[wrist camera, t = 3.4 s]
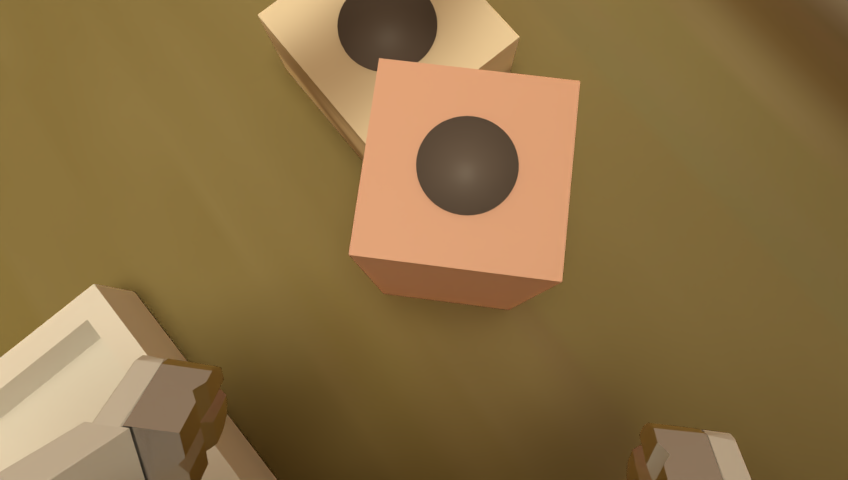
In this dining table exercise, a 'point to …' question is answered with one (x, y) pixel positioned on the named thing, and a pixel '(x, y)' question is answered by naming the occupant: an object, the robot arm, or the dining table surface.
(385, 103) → the tall block
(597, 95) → the dining table surface
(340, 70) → the low block
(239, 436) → the tray
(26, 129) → the dining table surface
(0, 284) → the dining table surface
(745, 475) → the robot arm
